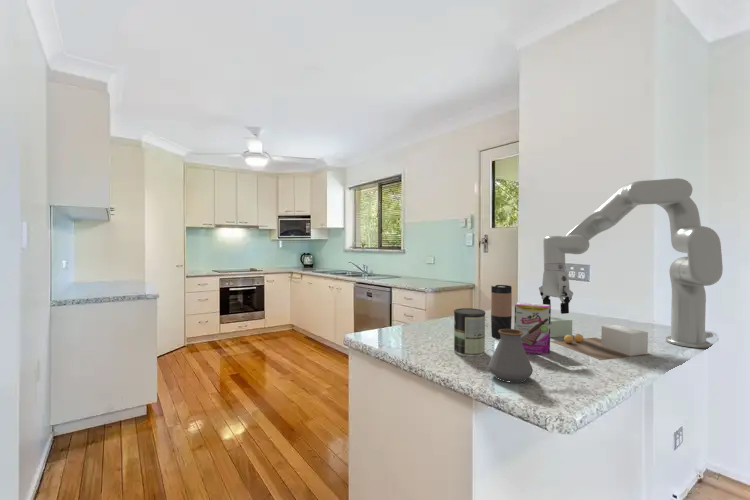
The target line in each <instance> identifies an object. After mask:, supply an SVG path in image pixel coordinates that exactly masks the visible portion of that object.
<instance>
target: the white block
mask: <svg viewBox="0 0 750 500" xmlns="http://www.w3.org/2000/svg"><path fill="white" fill-rule="evenodd" d="M600 337H601V338H600V339H601V346H602V347H605V348H608V349H612V350H615V351H618V352H621V353H624V354H627V355H630V356H632V355H642V354H648V352H649V351H648V350H649V349H648V347H649V338H648V337H649V332H648V331H643V330H640V329H635V328H631V327H628V326H623V325H619V324H613V325H602V326H601V336H600Z"/></svg>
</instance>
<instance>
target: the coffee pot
mask: <svg viewBox="0 0 750 500" xmlns="http://www.w3.org/2000/svg"><path fill="white" fill-rule="evenodd" d="M547 321H548V318H547V319H544V321H541V322H540V323H539V324H537V325H535V326H534V327H533V328H532V329H530V330H529V331H528V332H527V333H526V334H524V335H523V332H522V331H519V330H515V329H514V328H511V329H500V330H498V332H499V333H500V337H501V339H499V341H498V343H497V345H496V348H495V349H494V352H493V355H492V356H491V358H490V361H489V363H488V369H489V371H490V373H491V374H493V376H495V378H496V377H497V378H499V379H501V380H504V381H510V382H520V383H523V382H522V381H524V380H525V381H526V380H528V379H529V378H530V377H531V376H532V374H533V369H534V368H533V367H532V364H531V362H530V359H529V357H528V355H527V354H526V352H525V350H524V347H523V345H522V343H521V341H522V340H523V339H524V338H525V337H527V336H528V335H530V334H531V333H533V332H534V331H536V330H537V329H539V328H540V327H541V326H542V325H544V324H545V323H546V322H547ZM549 321H550V320H549ZM550 322H551V321H550ZM546 324H547V323H546ZM551 324H552V322H551ZM551 324H548V325H551ZM521 335H523V336H521ZM497 378H496V379H497ZM499 379H498V380H499ZM501 380H500V381H501ZM504 381H503V382H504ZM525 381H524V382H525Z"/></svg>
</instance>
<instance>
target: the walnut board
mask: <svg viewBox="0 0 750 500" xmlns="http://www.w3.org/2000/svg"><path fill="white" fill-rule="evenodd" d="M583 338H584V340H583V341H582V342H580V343H578V342H576V341H575V340H574V338H573V342H572V343H566V342H565V341H564V339H562V340H550V343H553V344H556V345H559V346H561V347H563V348H567V349H570V350H572V351H575V352H578V353H580V354H583V355H585V356H589V357H591V358H593V359H597V360H599V361H604V360H614V359H615V360H617V359H622V358H623V359H624V358H633V357H642V356H652V355H653V354H652V353H648V354H642V355H632V356H630V355H627V354H624V353H621V352H618V351H615V350H612V349H608V348H605V347H602V346H601V338H599V337H588V338H587V337H586V338H585V337H583Z"/></svg>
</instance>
